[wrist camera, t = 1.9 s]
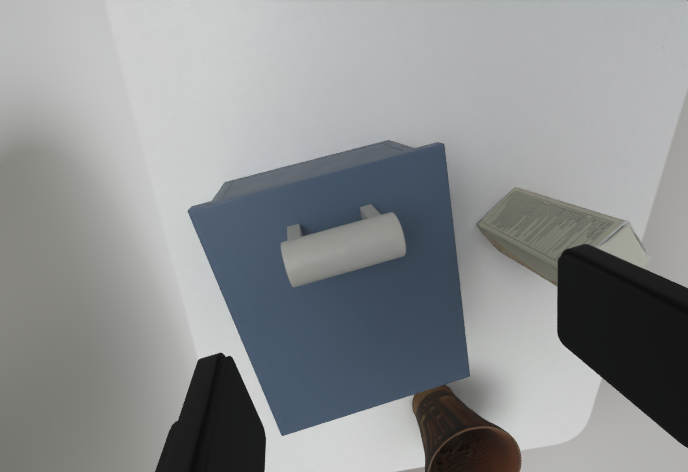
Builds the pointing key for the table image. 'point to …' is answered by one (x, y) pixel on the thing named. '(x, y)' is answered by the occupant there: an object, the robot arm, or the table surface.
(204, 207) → the lid
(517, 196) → the box
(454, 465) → the cup
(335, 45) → the table surface
